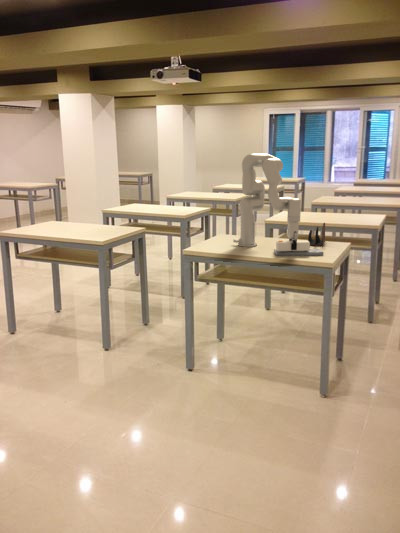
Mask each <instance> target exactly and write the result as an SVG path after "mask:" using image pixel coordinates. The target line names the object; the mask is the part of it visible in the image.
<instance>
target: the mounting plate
mask: <svg viewBox="0 0 400 533" xmlns="http://www.w3.org/2000/svg"><path fill="white" fill-rule="evenodd" d="M273 253H274V255H275V256H276V257H296V256H298V257H299V256H300V257H301V256H302V257H303V256H305V257H309V256H314V257H315V256H316V257H317V256H324V253H325V252H324V251H322V250H321V249H319V248H310V250H309V251H278V250H277V249H276V248H275V249H273Z"/></svg>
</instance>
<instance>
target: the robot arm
mask: <svg viewBox="0 0 400 533" xmlns="http://www.w3.org/2000/svg"><path fill="white" fill-rule="evenodd" d="M255 168H261V169H262V172H263V173H264V176H265V178H266V180H267V183H268V188H267V190H268V191H267V196H268V197H267V198H268V200H269V203H270V205H271V206H272V208H273V209H274V210H276V211H283V210H285V211H287V218H286V219H287V229H286V230H287V231H286V232H287V233H286V236H287V238H288V241H292V243H291V250H297V241H298V238H299V228H300V227H299V226H300V225H299V223H300V222H301V213H302V212H301V208H302V207H301V206H302V200H301V198H297V197H290V196H282V197H280V195H279V193H278V190H277V189H278V186H279V185H280V184H282V183H283V178H282V175H281V174H280V172H282V171H283V168H284V163H283V161H282V160H281V159H280V158H278V157H276V156H274V155H271V154H270V153H269V154H268V153H249V154H247V155H245V156H244V157H243V158H242V162H241V169H242V184H241V189H242V190H241V192H242V193H243V195H245V196H247V197H243V198H242V199H241V200H240V201H239V206H238V207H239V212H240V237H239V238H238V239H235V238H234V239H233V243H237V245H238V246H239V247H244V248H251V247H257V246H258V243H257V242H255V240H256V217H255V214H254V212H259V211H261V210H263V209H264V206H265V191H266V188H265V184H264V182H263V181H262V180H259V179H256V178H257V174H256V170H255Z"/></svg>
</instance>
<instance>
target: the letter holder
mask: <svg viewBox="0 0 400 533" xmlns="http://www.w3.org/2000/svg"><path fill="white" fill-rule="evenodd" d="M321 231H322V233H321V236H322V237H321V238H320V235H319V226H317V227H316V228H315V236H314V239H313V238H312V233H313V230H312V229H310V231H309V232H308V236H307V237H308V238H307V241H309V242H310V247H324V245H325V241H326V222H323V224H322V229H321Z"/></svg>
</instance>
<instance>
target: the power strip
mask: <svg viewBox="0 0 400 533" xmlns="http://www.w3.org/2000/svg"><path fill="white" fill-rule="evenodd" d="M275 241H276V242H275V243H276V244H275V245H276V246H275V249H277V250H278V251H309V250H310V249H311V248H310V247H311V246H310V242H309V241H308V240H297V250H291V243H292V241H289V240H280V239H279V240H275Z"/></svg>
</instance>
